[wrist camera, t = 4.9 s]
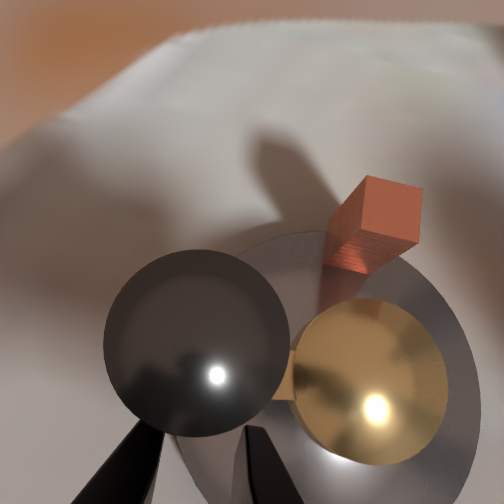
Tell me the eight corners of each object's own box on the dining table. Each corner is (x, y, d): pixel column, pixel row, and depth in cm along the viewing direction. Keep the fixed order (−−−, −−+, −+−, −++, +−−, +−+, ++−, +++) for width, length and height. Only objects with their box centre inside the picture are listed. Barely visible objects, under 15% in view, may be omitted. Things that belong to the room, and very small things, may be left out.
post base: (461, 584, 16) (575, 658, 12) (132, 528, 15) (113, 585, 11) (469, 262, 21) (555, 222, 16) (211, 201, 20) (222, 138, 15)
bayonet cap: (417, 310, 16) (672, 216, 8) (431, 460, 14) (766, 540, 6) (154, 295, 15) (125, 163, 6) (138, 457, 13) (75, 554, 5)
